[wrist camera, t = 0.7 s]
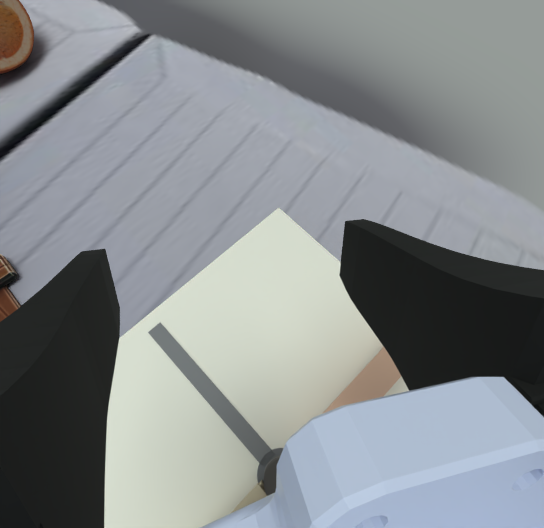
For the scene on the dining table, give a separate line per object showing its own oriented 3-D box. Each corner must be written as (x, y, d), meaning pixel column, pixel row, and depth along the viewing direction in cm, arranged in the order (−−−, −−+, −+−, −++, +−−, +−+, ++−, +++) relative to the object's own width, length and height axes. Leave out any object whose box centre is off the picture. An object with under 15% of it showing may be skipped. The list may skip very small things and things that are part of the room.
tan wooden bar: (436, 323, 27) (470, 299, 22) (307, 468, 23) (317, 473, 19) (417, 306, 27) (446, 279, 23) (287, 446, 23) (292, 446, 19)
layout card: (502, 408, 25) (505, 407, 25) (240, 758, 18) (240, 764, 18) (278, 209, 31) (278, 207, 30) (19, 423, 24) (15, 422, 24)
